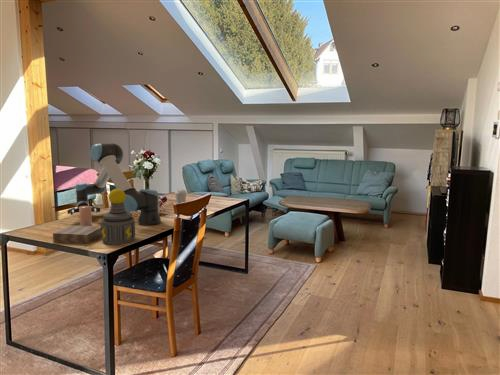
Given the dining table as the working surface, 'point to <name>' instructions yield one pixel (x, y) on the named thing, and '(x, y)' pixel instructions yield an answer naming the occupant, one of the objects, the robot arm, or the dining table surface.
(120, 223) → the decorative lamp
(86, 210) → the terracotta canister
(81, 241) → the walnut plinth
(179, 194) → the coffee cup
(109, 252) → the dining table surface
